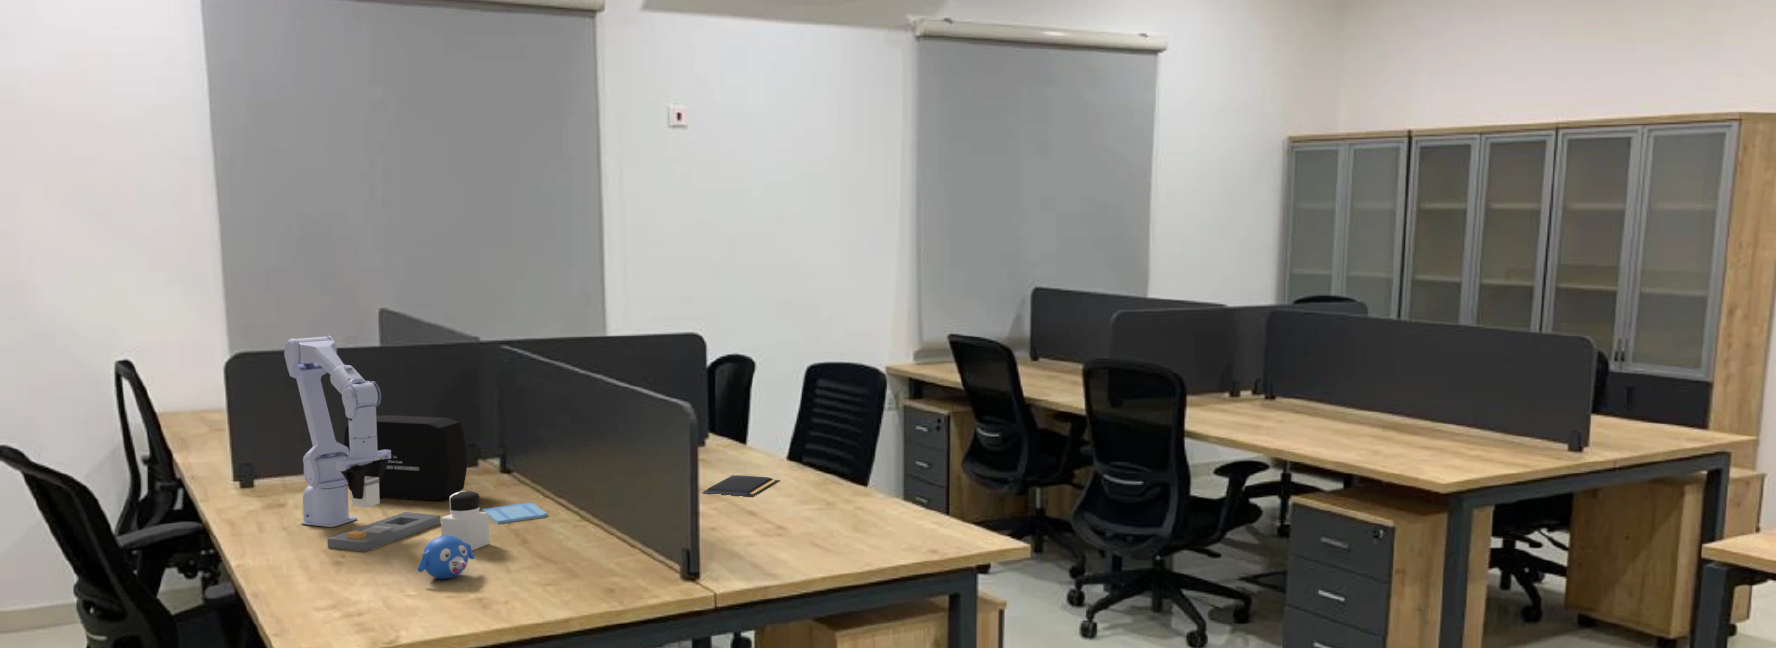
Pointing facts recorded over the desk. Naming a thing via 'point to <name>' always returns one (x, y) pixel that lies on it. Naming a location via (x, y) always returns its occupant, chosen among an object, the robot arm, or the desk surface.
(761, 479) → the black notebook
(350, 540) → the grey slab
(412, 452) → the black hard case
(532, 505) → the light blue flat rectangle
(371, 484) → the block
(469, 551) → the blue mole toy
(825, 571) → the desk surface
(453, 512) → the medicine bottle
